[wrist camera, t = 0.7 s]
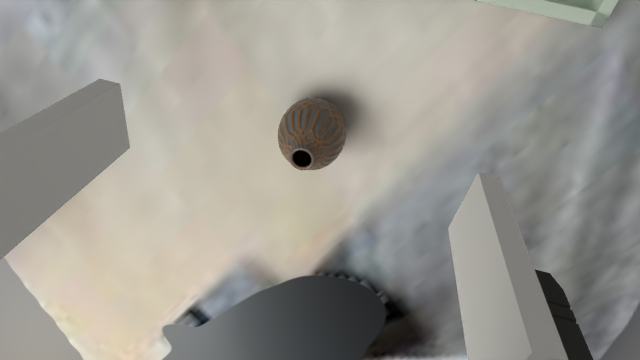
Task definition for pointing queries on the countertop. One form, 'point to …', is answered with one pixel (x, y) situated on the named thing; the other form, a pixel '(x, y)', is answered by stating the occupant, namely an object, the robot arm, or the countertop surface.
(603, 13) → the tray
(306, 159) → the vase
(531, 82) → the countertop surface
